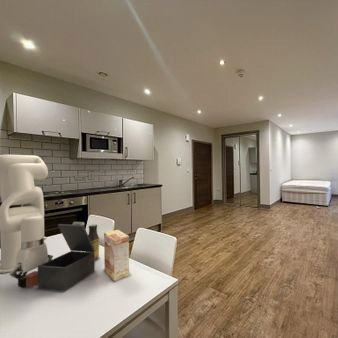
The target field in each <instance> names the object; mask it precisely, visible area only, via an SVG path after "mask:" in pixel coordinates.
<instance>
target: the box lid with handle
mask: <svg viewBox="0 0 338 338" xmlns="http://www.w3.org/2000/svg"><path fill="white" fill-rule="evenodd" d="M85 224H86V223H85V222H84V221H73V222H72V224H65V223H64V224H63V223H59V224H57V227H58V229H59V231H60V232H61V235H62V237H63V239H64V240H65V242H66V245H67V246H68V248H69V250H70V251H79V252H95V249H94V247H93V245H92V243H91V241H90V238H89V236H88V234H89V233H88V232H87V230H86V227H85Z"/></svg>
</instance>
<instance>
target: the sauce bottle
mask: <svg viewBox="0 0 338 338" xmlns="http://www.w3.org/2000/svg"><path fill="white" fill-rule="evenodd" d="M87 234H88V236H89V238H90V241H91V243H92V245H93V247H94V249H95V252H94V253H95V261H97V260H98V259H99V258H100V257H99V256H100V237H99V234H98V224H96V223H94V224H89V225H88V233H87Z"/></svg>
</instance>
